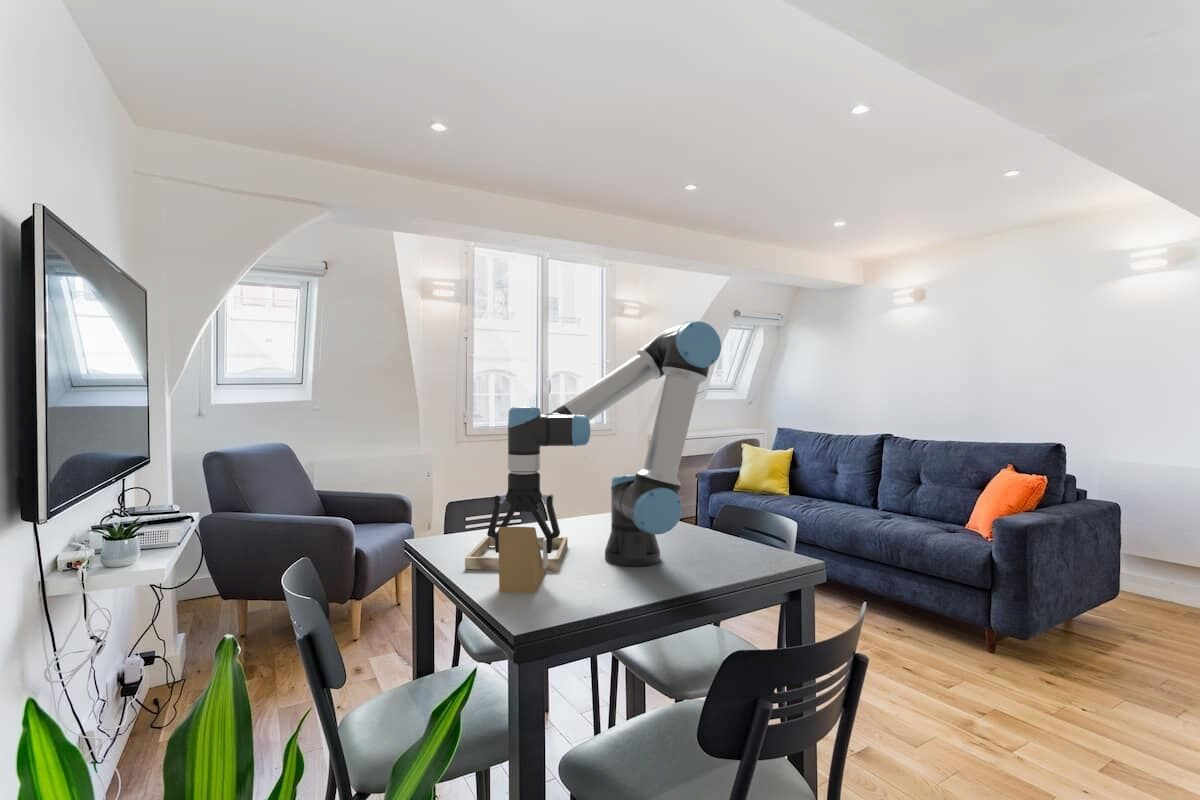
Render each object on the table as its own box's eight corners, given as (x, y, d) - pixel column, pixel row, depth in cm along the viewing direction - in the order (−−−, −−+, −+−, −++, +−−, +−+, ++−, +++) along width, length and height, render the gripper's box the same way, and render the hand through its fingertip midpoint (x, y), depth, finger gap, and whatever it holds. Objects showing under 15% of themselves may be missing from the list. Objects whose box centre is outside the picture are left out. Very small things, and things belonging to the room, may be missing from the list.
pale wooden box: (567, 547, 174) (567, 537, 174) (558, 570, 150) (558, 559, 150) (486, 546, 175) (486, 536, 175) (465, 569, 151) (465, 557, 151)
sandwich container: (547, 573, 149) (547, 514, 148) (535, 593, 133) (535, 527, 133) (513, 572, 149) (513, 513, 149) (498, 592, 134) (498, 526, 134)
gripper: (572, 470, 143) (572, 562, 143) (481, 469, 144) (481, 561, 144) (569, 474, 135) (569, 571, 136) (473, 473, 136) (473, 570, 136)
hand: (523, 566), depth 140 cm, fingers open, 10 cm apart
